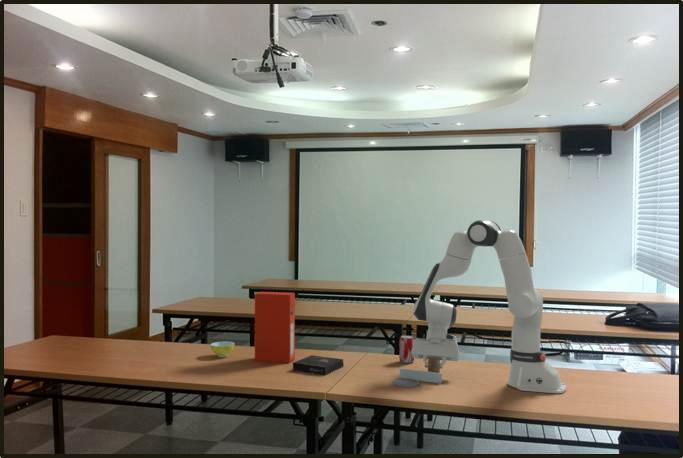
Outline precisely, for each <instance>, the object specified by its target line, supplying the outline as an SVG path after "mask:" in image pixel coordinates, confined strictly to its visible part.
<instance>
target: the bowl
mask: <svg viewBox="0 0 683 458" xmlns="http://www.w3.org/2000/svg"><path fill="white" fill-rule="evenodd" d="M235 345H236V344H235V342H233V341H225V340H224V341H216V342H212V343H211V344H210V348H211V350H212V352H213V353H214V354H215V355H217V357H219V358H227V357H228V355H230V354H231V352H233V350H234V348H235Z"/></svg>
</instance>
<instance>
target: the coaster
mask: <svg viewBox="0 0 683 458" xmlns="http://www.w3.org/2000/svg"><path fill="white" fill-rule="evenodd" d="M392 385H394V386H397V387H402V388H412V387H413V388H414V387H417V386H420V381H418V380H412V379H403V378H402V379H399V378H398V379H397V378H396V379H394V380H393V381H392Z"/></svg>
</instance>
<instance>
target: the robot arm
mask: <svg viewBox="0 0 683 458" xmlns="http://www.w3.org/2000/svg"><path fill="white" fill-rule="evenodd" d="M477 247H492V248H493V249H494V250H495V251H496V254H497V257H498V261H499V265H500V269H501V272H502V274H503V279H504V284H505V285H504V287H505V291H506V292H505V293H506V296H507V302H508V303H507V308H508V310H509V312H510V313H511V315H513V322H512V328H511V348H510V352H509V358H510V359H509V362H510V370H509V375H508V379H507V381H506V383H507V385H508V386H510V387H513V388H514V389H517V390H518V391H524V392H535V393H536V392H537V393H545V394H546V393H548V394H562V393H565V392H566V390H567V385H566V384H565V383H564V382H561V381H562V380H561V376H560V373H559V371H558V370H557V369H556V368H554V367H553V366H552V364H550V363H548V362H547V361H546V358H547V356H546V352H543V351H542V350H541V329H542V320H543V311H544V310H543V306H544V298H543V297H544V296H543V295H542V293H541V292H540V291H539V290H537V289H536V288H535V287H534V282H533V275H532V274H533V272H532V269H531V265H530V263H529V258H528V255H527V252H526V249H525V247H524V244H523V241H522V239H521V238H520V235H519V234H518V232H516V231H515V230H513V229H505V230H501V227H500V226H499V224H497V222H495V221H490V220H488V219H481V220H480V219H479V220H475V221H474V222H472V223H471V224H470V225H469V226H468V228H467V230H458V231H455V232H454V233H453V234H452V236H451V239H450V240H449V243H448V245H447V249H446V252H445V255H444V257H443V259H442V260H441V261H440V262H438V263H436V264H435V265H434V266H433V267H432V269H431V271H430V274H429V275H428V277H427V279H426V281H425V284H424V286H423V288H422V289H421V293H420V294H419V296H418V299H417V300H416V301H415V303H414V307H413V311H412V313H413V315H414V317H415V318H416V319H417V320H418V321H422V322H423V321H424V322H428V324H427V327H428V329H427V330H426V338H417V337H416V338H415V339H414V340H413V342H412V346H413V347H412V351H411V354H412V357H413V358H414V359H420V360H421V359H423V362H424V367H425V368H427V369H428V359H429V358H433V359H440V361H441V362H440V363H439V368H440V369H442V370H443V368H444V365H445V364H446V363H447V361H448V362H458V361H459V360H460V352H459V351H460V349H459V345H458V341H457V340H458V339H457V336H455V335H452V334H450V333H448V329H451V328H452V327H453V326H454V325H455V324H456V321H457V309H456V306H455V305H454V304H452V303H447V302H444V301H439V300H436V299H432V298H431V296H432V294H433V291H434V290H435V288H436V285H437V283H438V282H440V281H442V280H443V279H448V278H457V277H460V276H462V275H464V274H465V273H467V271H469V269H470V266H471V262H472V259H473V258H472V257H473V254H474V252H475V250H476V248H477Z"/></svg>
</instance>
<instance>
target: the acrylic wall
mask: <svg viewBox="0 0 683 458" xmlns="http://www.w3.org/2000/svg"><path fill="white" fill-rule="evenodd" d="M398 379H412V380H416V381H418V382H425V383H426V382H427V383H432V384H433V383H434V384H438V385H442V383H443V373H442V372H440V373H435V372H428V370H427V371H426V370H418V369H410V368H402V367H401V368H400V367H399V377H398Z"/></svg>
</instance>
